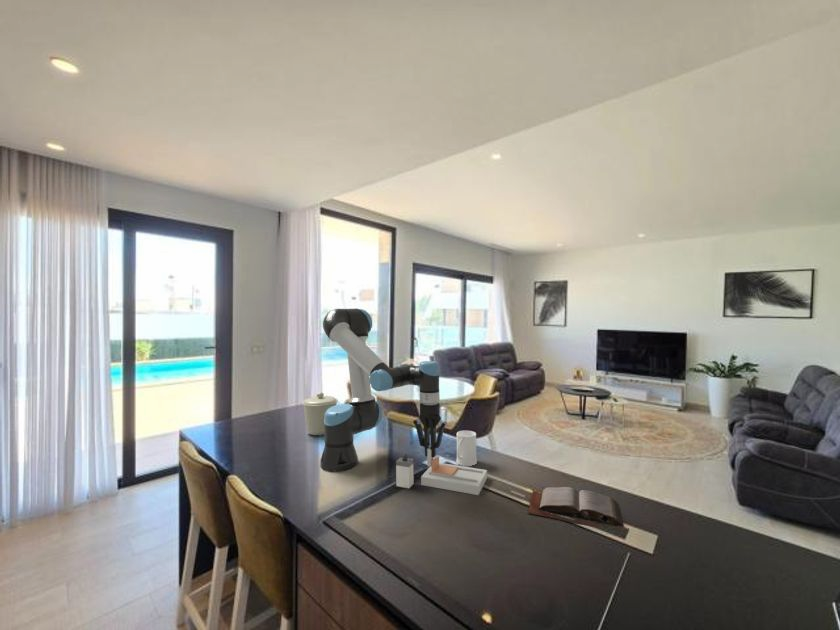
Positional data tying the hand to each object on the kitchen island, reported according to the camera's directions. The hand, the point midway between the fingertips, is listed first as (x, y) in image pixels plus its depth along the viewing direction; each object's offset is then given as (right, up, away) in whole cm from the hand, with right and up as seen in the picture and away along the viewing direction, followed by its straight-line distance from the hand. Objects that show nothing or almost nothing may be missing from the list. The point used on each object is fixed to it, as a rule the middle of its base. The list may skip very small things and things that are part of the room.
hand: (430, 465), depth 139 cm
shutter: (+5, -2, -2) cm, 6 cm away
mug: (+14, -5, +13) cm, 20 cm away
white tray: (+9, -5, -3) cm, 11 cm away
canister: (-56, -5, +54) cm, 78 cm away
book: (+46, -5, -22) cm, 51 cm away
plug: (-9, -5, -6) cm, 12 cm away
